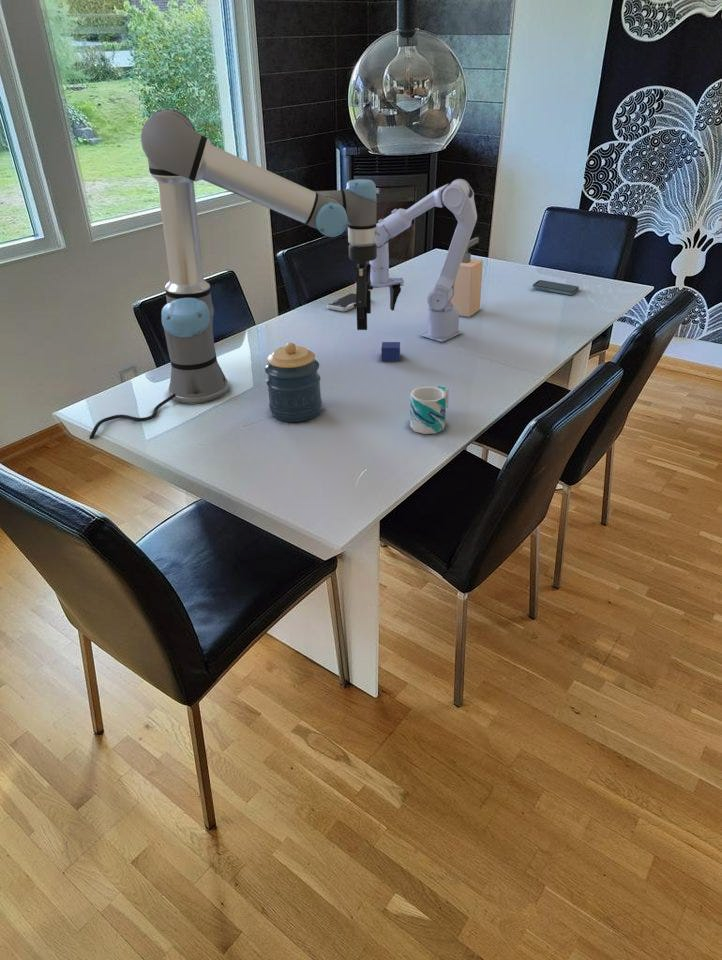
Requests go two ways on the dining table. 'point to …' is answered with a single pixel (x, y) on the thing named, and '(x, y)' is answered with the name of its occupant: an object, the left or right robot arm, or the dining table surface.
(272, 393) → the canister
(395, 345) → the block
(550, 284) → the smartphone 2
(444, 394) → the mug
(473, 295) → the soap dispenser
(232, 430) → the dining table surface
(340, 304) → the smartphone
